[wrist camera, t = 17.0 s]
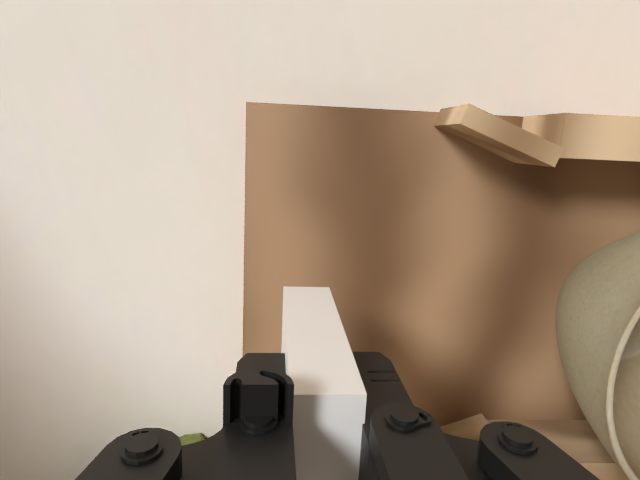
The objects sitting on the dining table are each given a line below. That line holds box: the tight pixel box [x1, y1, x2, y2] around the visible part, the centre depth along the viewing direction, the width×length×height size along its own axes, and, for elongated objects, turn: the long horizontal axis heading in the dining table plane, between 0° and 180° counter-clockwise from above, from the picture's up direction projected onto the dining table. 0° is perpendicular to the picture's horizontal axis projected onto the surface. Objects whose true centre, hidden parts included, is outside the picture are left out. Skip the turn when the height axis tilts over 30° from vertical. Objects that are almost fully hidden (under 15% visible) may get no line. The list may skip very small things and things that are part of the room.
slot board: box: [243, 102, 640, 480], centre depth 19 cm, size 22×15×4 cm
